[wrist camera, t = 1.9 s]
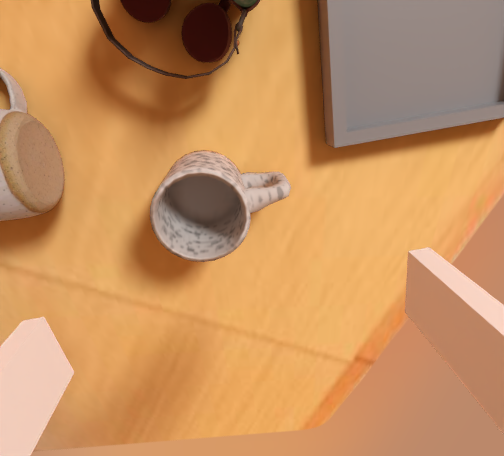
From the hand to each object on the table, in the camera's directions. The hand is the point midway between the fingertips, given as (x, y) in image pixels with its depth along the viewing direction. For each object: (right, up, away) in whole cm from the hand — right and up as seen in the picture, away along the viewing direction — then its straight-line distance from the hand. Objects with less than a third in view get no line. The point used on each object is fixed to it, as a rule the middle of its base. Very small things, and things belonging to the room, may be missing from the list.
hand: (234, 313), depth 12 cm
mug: (-2, +7, +16) cm, 17 cm away
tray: (+13, +19, +12) cm, 26 cm away
